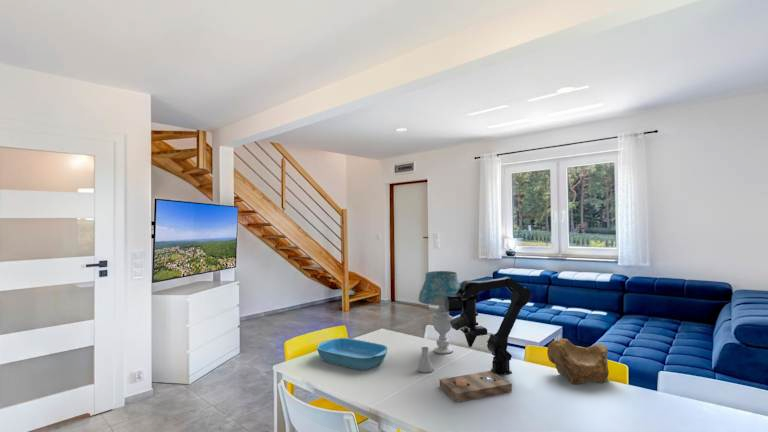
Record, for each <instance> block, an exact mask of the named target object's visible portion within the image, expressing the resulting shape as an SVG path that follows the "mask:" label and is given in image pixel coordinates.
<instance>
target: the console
mask: <svg viewBox="0 0 768 432" xmlns="http://www.w3.org/2000/svg"><path fill="white" fill-rule="evenodd" d="M483 376H492V377H493V378H494V381H492V382H487V383H486V382H485V381H483V380H482V377H483ZM458 378H464V379H466V380H467V386H464V387H458V386H456V379H458ZM438 383H439V388H440V389H442V390H443V391H444V392H445V393H446V394H447V395H449V397H451V398H452V400H454V401H455V402H463V401H469V400H474V399H480V398H484V397H490V396H495V395H500V394H505V393H506V394H507V393H511V392H513V383H511V382H510V381H508V380H507V379H505V378H504V377H502V376H501V375H499V374H497V373H495V372H494V371H492V370H487V371H482V372H481V371H480V372H475V373H470V374H469V373H468V374H464V375H463V374H462V375H458V376H450V377H445V378H440V379H439V382H438Z"/></svg>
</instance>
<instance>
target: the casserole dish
mask: <svg viewBox="0 0 768 432" xmlns="http://www.w3.org/2000/svg"><path fill="white" fill-rule="evenodd" d="M316 349H317V352H318V355H319V358H320V359H321V360H322V361H324V362H326V363H329V364H332V365H336V366H340V367H341V366H342V367H344V368H349V369H353V370H360V371H367V370H370V369H373V368H374V367H376V366H377V365H379V364H381V363H382V362H383V361H385V358H386V355H387V353H388V349H389V348H388V346H387V345H385V344H382V343H376V342H371V341H366V340H361V339H354V338H348V337H347V338H346V337H338V338H337V337H335V338H331V339H326V340H323V341H321V342H319V344H318V345H317V346H316Z"/></svg>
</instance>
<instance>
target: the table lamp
mask: <svg viewBox="0 0 768 432" xmlns="http://www.w3.org/2000/svg"><path fill="white" fill-rule="evenodd" d="M460 285H461V284H460V283H459V281H458V274H457V272H455V271H450V270H449V271H448V270H439V271H438V270H434V271H427V272H426V273H425V279H424V283H423V285H422V288H421V289H420V291H419V294H418V301H419V302H420V303H421V304H423V305H430V306H438V308H437V309H434V313H435V314H433V315H432V316H431V321H432V325H433V328H434V330H435V331H436V332H437V333H438V334H439V336H438V338H437V339H436V345H437V346H435V347H434V348H433V351H434V352H435V353H436V354H440V355H448V354H451V353H452V352H454V349H453V348H452V347H450V340H449V339H448V337H447V336H446V334H448V333H449V332H450V331H451V329H452V326H451V323H450V321H451V320H453V319H454V317H453V315H450V312H446V310H445V305H444V302H445V299H446V296H448V295H449V296H456V293H457V292H458V290H459V288H460ZM463 294H464V293H463Z"/></svg>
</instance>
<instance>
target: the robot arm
mask: <svg viewBox="0 0 768 432" xmlns="http://www.w3.org/2000/svg"><path fill="white" fill-rule="evenodd" d="M459 285H460V288H459V290H458V292H457V293H456V296H449V295H448V296H446V299H445V302H444V305H445V310H446V312H449V313H451V312H460V313H459V315H458V316H457V317H455V318H453V320H451V321H450V323H451V329H454V330H455V331H459V330H460V331H461V332H462V333H463V334H464V337H465V339H466V343H467V346H468V347H469V348H472V347H473V345H474V343H475V340H476V338H477V337H480V336H487V335H488V329H487V328H486V327H484V326H482V325H479V322H477V316H479V313H478V312H477V306H476V305H477V303H476V302H477V301H481V298H480V296H478V295H479V294H481V293H482V292H485V291H489V290H490V291H491V290H497V289H502V288H506V289H507V290H508V291H509V292H511V294H510V303H509V306H508V309H507V310H506V313H505V315H504V317H503V320H502V321H501V323H500V325H499V328H498V330H497V332H496V333H495V334H492V333H491V334H489V338H488V340H487V341H486V343H487V344H486V346H487V350H488V351H489V352H490V354H491V356H492V361H491V362H492V363H491V364H492V368H491V369H490V371H492V372H494V373H495V374H497V375H499V376H503V375H508V374H512V373H513V372H512V370H511V369H510V361H511V360H512V356H513V355H512V354H511V353H510V352H509V351H508V346H509V343H508V340H509V339H508V338H509V336H510V333H511V332H512V329H513V327H514V325H515V323H516V321H517V318H518V316H519V315H520V312H521V310H522V308H524V307H525V306H526V305H528V303H529V301H530V300H531V298H532V295H533V294H532V292H531V290H530V288H528V287H524V286H522V285H521V284H519V282H517V281H515V280H514V279H513V278H512V277H509V276H504V277H499V278H493V279H487V280H463V281H461V284H459ZM463 293H464V294H463Z"/></svg>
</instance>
